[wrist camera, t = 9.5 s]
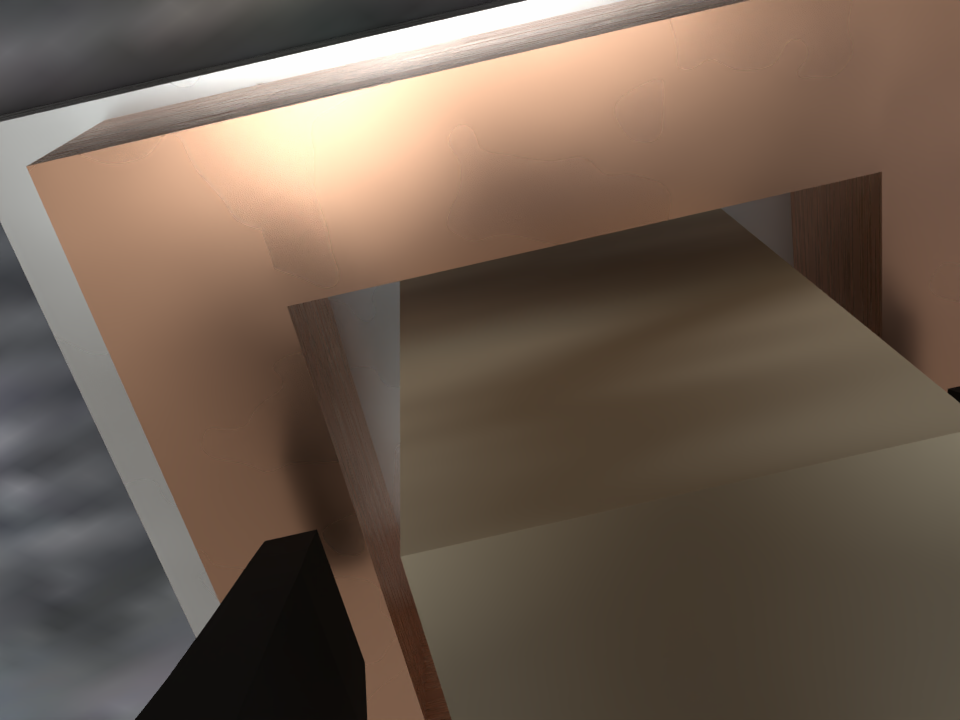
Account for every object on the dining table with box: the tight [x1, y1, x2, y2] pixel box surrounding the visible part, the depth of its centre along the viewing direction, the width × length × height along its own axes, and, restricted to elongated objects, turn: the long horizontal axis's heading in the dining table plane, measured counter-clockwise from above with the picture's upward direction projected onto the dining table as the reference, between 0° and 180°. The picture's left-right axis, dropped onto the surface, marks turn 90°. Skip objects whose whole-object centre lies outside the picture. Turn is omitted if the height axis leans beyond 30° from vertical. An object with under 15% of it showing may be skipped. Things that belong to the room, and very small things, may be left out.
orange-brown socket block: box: [0, 0, 960, 720], centre depth 12 cm, size 14×11×4 cm
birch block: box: [400, 208, 960, 720], centre depth 10 cm, size 4×4×6 cm
